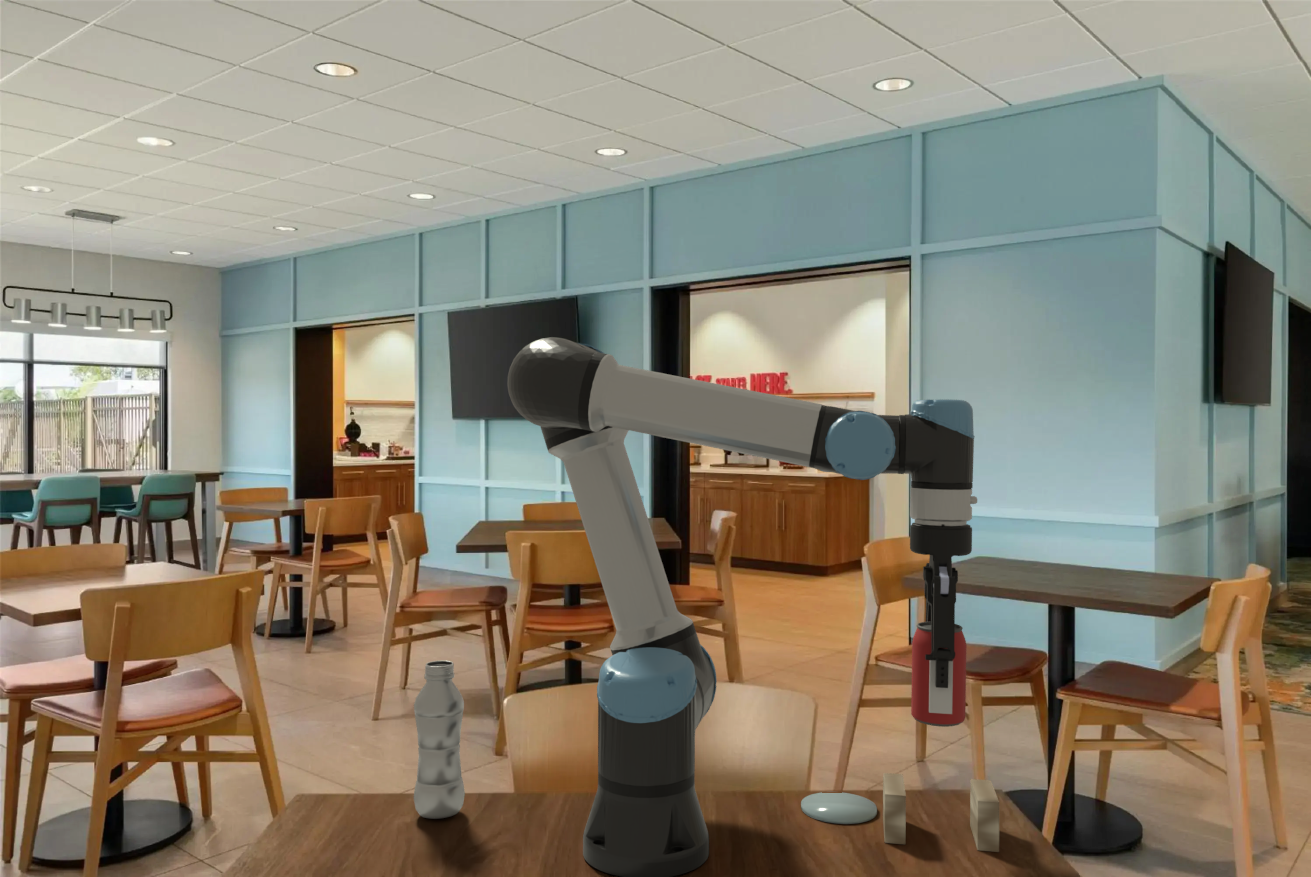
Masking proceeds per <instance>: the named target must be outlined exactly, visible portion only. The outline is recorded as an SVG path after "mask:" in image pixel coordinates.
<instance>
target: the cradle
mask: <svg viewBox="0 0 1311 877" xmlns="http://www.w3.org/2000/svg"><path fill="white" fill-rule="evenodd" d="M882 775H883V776H882V781H883V782H882V824H883V825H882V826H883V837H884V838H883V839H884V843H885V844H896V845H906V826H907V824H906V822H907V817H906V816H907V814H906V813H907V812H906V811H907V807H906V806H907V803H906V802H907V800H906V799H907V795H906V794H907V793H906V789H905V788H906V787H905V780H904V774H902V773H889V772H883V773H882ZM995 790H996V789H995V788H994V785H993V783H992V780H989V779H975V778H970V791H969V792H970V795H969V798H970V799H969V800H970V801H969V802H970V803H969V804H970V806H969V807H970V809H969V810H970V811H969V812H970V814H969V816H970V817H969V827H970V830H971V833H972V835H973V837H972V838H973V840H974V843H975V847H976V850H977V851H983V852H993V853H994V852H995V853H1000V801H999V798H998V795H997V793H996V791H995Z"/></svg>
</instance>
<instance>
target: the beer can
mask: <svg viewBox="0 0 1311 877" xmlns="http://www.w3.org/2000/svg"><path fill="white" fill-rule="evenodd" d="M916 627H917V628H916V630H915V632H914V635H913V637H912V638H913V639H912V644H911V693H910V694H911V704H910V707H911V709H910V711H911V712H910V715H911V717H912V718H913V719H914V720H916V721H917V722H919V723H921V724H924V725H927V726H933V727H939V728H941V727H942V728H943V727H944V728H946V727H954V726H959V725H961V724H962V723H964V721H966V703H967V702H966V698H967V696H966V694H967V692H966V689H967V640H966V637H965V634H964V633H963V632H964V631H963V626H962V625H960V624H958V623H955V640H954V651H955V658H954V659H953V693H952V714H942V713H929V670H930V660H925V655H926V654H930V653H931V622H926V621H921V622H918V623H917V624H916ZM943 649H948V648H943Z"/></svg>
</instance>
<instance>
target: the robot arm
mask: <svg viewBox="0 0 1311 877" xmlns="http://www.w3.org/2000/svg"><path fill="white" fill-rule="evenodd" d="M511 362H512V363H511V365H510V366H509V370H508V374H507V384H506V385H507V391H508V395H509V397H510V398H509V399H510V400H511V403H512V405H513V407H514V409H515V410H516V411H517V412H518V414H519V415H520V416H522V417H523V418H524V419H525V420H526V421H528V422H529V423H532V424H533V425H535V426H539V427H540V430H541V433H542V436H543V439H544V442H545V446H546V449H547V451H548V454H550V455H553V457H556V458H557V459H560V460H561V461H562V463H563V466H564V468H565V471H566V475H567V478H568V481H569V484H570V487H571V491H572V494H573V496H574V500H575V503H576V506H577V508H578V509H577V510H578V512H579V516H580V519H581V522H582V525H583V529H584V531H585V535H586V538H587V541H588V544H589V547H590V551H591V554H592V557H593V559H594V560H593V561H594V564H595V567H596V569H597V573H598V575H599V576H598V577H599V579H600V583H601V585H602V586H601V587H602V589H603V592H604V595H605V598H606V601H607V606H608V608H609V611H610V613H611V616H612V620H613V623H614V626H615V630H616V631H615V635H614V637H613V639H612V641H611V643H610V645H609V648H610V651H611V654H612V655H611V656H609V657H608V658H607V659H606V660H605V661H603V663H602V665H601V666H600V669H599V675H598V683H597V687H596V698H597V772H598V773H597V790H596V793H595V796H594V799H593V802H592V805H591V809H590V812H589V814H588V815H589V816H588V818H587V821H586V824H585V827H584V831H583V836H582V855H583V856H582V857H583V858H584V860H585V861H586V863H588V864H589V865H590V866H591V867H593V868H594V869H596V870H598V871H601V872H603V873H606V874H609V875H613V876H617V877H677V876H679V875H684V874H687V873H689V872H691V871H693V870H696V869H697V868H700V867H701V866H702V865H703V864H705V862H706V861H707V860H708V857H709V854H710V844H709V843H710V836H709V835H710V834H709V831H708V828H707V824H706V822H705V817H704V814H703V812H702V808H701V805H700V801H699V799H698V795H697V792H696V787H695V786H696V784H695V783H696V782H695V781H696V780H695V776H696V775H695V771H696V770H695V768H696V765H695V764H696V762H695V761H696V760H695V759H696V758H695V754H696V744H695V743H696V730H697V728H698V727H699V725H700V723H701V722H702V720H703V718H704V717H705V716H706V715H707V713H708V712H709V710H710V709H711V706H712V704H713V702H714V700H715V696H716V692H717V671H716V667H715V663H714V661H713V659H712V656H711V655H710V654H709V652H708V651H707V650H706V648H705V647H704V646H703V645H702V644H701V643H700V640H699V637H698V634H697V631H696V628H695V623H694V621H693V619H692V618H690V617H688V616H686V615H684V614H682V613H681V612H680V611H679V610H678V608H677V605H676V602H675V598H674V597H673V593H672V590H671V586H670V582H669V581H668V577H667V574H666V571H665V568H664V564H663V562H662V558H661V555H660V551H659V549H658V545H657V543H656V539H655V536H654V533H653V530H652V526H651V524H650V520H649V518H648V514H647V512H646V509H645V505H644V503H643V499H642V496H641V493H640V492H641V491H640V490H639V486H638V483H637V480H636V478H635V474H634V471H633V468H632V464H631V461H630V459H629V455H628V452H627V449H626V446H625V438H626V436H627V435H628V433H629V431H631V432H636V433H641V434H646V435H651V436H655V437H659V438H664V439H665V438H666V439H671V440H675V441H679V442H684V443H690V444H694V445H699V446H705V447H710V448H714V449H719V450H723V451H729V452H734V453H739V454H744V455H748V456H752V457H753V456H754V457H757V458H758V457H759V458H762V459H767V460H773V461H777V462H783V463H788V464H792V465H796V466H803V467H806V468H812V469H814V470H819V471H821V472H823V473H833V474H838V475H842V476H843V477H846V478H848V479H855V480H860V481H864V480H869V479H870V480H871V479H873V478H875V477H876V476H879V475H881V474H891V475H893V474H898V475H904V474H907V475H909V474H910V478H911V480H910V490H909V491H910V492H909V493H910V497H909V498H910V501H909V517H910V518H911V519H912V520H914V522H912V523H911V525H909V550H910V551H911V552H912V553H915V554H919V555H924V556H926V555H927V556H929V559H928V560H929V561H928V562H926V565H925V566H923V567H922V568H923V570H922V577H923V581H924V588H923V589H924V590H923V591H924V598H925V622H931V653H930V654H926V655H925V660H930V670H929V713H942V714H952V693H953V659H954V658H955V651H954V640H955V624H956V623H955V619H956V616H955V614H956V611H955V610H956V609H955V608H956V606H955V605H956V603H957V583H958V581H959V575H958V574H959V572H958V570H957V569H956V567H954V566H953V561H952V557H954V556H955V557H956V556H957V557H963V556H969V555H971V553H972V550H973V527H972V526H971V525H970V524H968V523H967V522H969V521H971V520H973V507H972V505H976V504H977V503H978V498H977V496H975V495H974V496H973V495H972V494H973V481H974V480H973V479H974V455H975V454H974V452H975V451H974V448H975V435H974V412H973V407H972V405H971V404H970V403H969V402H968V401H967V400H963V399H948V398H947V399H945V398H944V399H941V398H940V399H938V398H937V399H916V400H914V401H913V403H912V406H911V410H910V413H909V414H899V415H896V414H895V415H890V414H889V415H888V414H877V413H873V412H869V411H863V410H852V409H848V408H843V407H838V406H832V405H824V404H821V403H818V402H817V403H816V402H811V401H807V400H802V399H796V398H790V397H786V396H783V395H782V396H780V395H776V394H771V393H765V392H760V391H756V390H751V389H745V388H740V387H735V386H730V385H729V386H728V385H724V384H720V383H715V382H709V381H704V380H700V379H694V378H688V377H682V376H678V375H672V374H669V373H668V374H667V373H663V372H658V371H653V370H647V369H643V368H637V367H633V366H629V365H623V364H622V365H621V364H619V363H618V361H617V360H616V359H615V357H614V355H613V354H609V353H605V352H604V351H602V350H601V349H599V348H597V347H595V346H593V345H591V344H588V343H582V342H575V341H572V340H569V339H567V338H562V337H553V336H551V337H545V338H540V339H536V340H534V341H532V342H530V343H528V344H526V345H525V346H524V347H523V348H522V349H520V351H519V352H518V353H517V354H516V355H515V357H514V358H513V360H512V361H511ZM943 648H948V649H943Z"/></svg>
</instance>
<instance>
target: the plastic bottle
mask: <svg viewBox="0 0 1311 877" xmlns="http://www.w3.org/2000/svg"><path fill="white" fill-rule="evenodd" d="M454 665H455V664H454V662H453V661H452V660H451V661H450V660H432V661H428V662H426V663H425V665H424V666H425V669H424V670H425V671H424V676H423V677H424V679H425V680H426V683H425V684H424V685H423V686H422V688H421V690H419V693H418V694H417V696H416V697H415V700H414V703H413V711H414V718H415V719H414V720H415V726H416V731H417V732H416V733H417V745H418V750H417V751H418V758H417V775H416V780H415V786H414V791H413V792H414V793H413V802H414V808H415V811H416V812H417V813H418V814H419V816H420V817H422V818H426V819H434V820H437V819H439V820H440V819H444V818H445V819H446V818H449V817H452V816H455V815H457V814H458V813H460V811H461V809H462V808H463V806H464V800H465V794H466V792H465V784H464V779H463V777H462V766H461V763H462V762H461V754H460V752H461V749H460V748H461V745H460V743H461V730H462V724H463V714H464V709H465V701H464V698H463V695H462V693H461V691H460V690H459V688H458V687H457V685H456V684H455V683H454V681H453V679H454V678H455V670H454V669H455V667H454Z"/></svg>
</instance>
